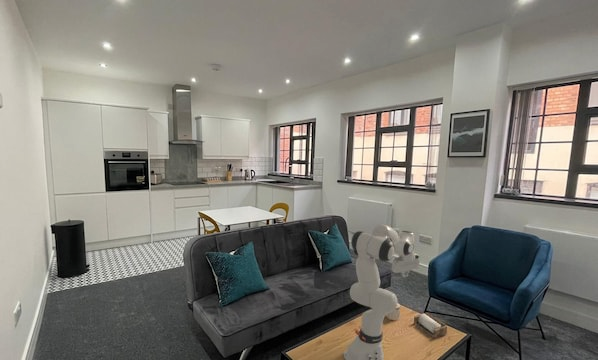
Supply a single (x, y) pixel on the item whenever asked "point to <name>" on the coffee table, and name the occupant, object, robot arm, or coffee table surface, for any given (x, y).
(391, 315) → the teacup with lid
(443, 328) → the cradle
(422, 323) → the roll
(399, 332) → the coffee table surface
